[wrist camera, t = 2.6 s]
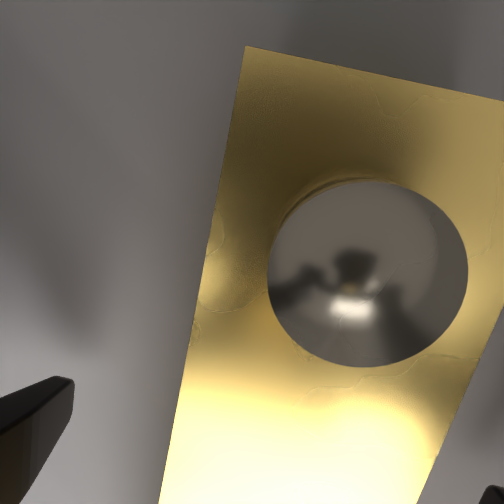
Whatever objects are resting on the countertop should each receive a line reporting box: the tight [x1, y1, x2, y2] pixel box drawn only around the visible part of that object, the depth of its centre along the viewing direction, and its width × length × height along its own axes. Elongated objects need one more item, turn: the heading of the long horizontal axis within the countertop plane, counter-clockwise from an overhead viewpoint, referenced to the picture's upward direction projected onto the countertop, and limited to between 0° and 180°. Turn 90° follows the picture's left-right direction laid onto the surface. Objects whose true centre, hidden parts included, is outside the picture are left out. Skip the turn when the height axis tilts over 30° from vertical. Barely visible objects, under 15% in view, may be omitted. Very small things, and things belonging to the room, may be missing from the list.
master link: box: [159, 45, 504, 504], centre depth 8 cm, size 4×14×5 cm, turn 167°
